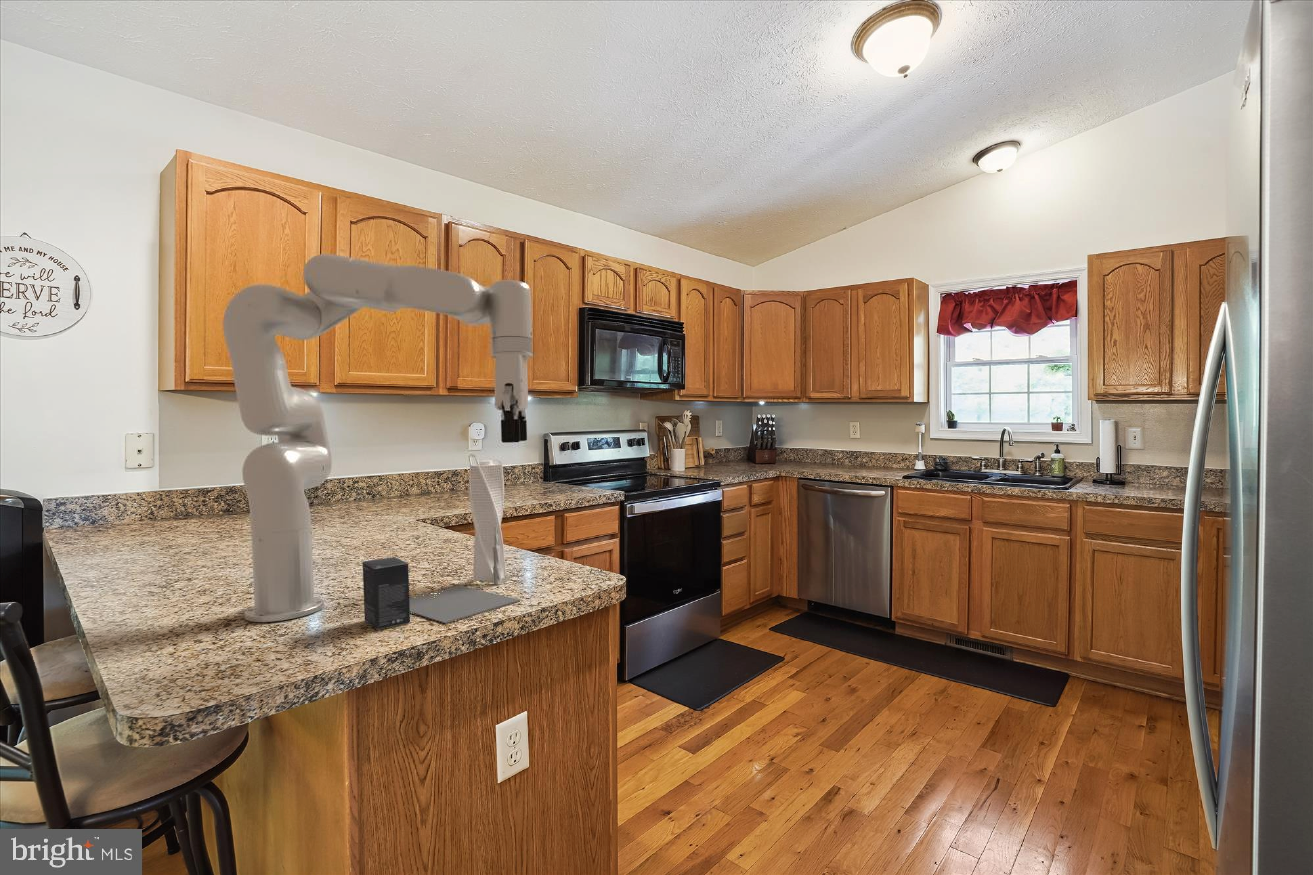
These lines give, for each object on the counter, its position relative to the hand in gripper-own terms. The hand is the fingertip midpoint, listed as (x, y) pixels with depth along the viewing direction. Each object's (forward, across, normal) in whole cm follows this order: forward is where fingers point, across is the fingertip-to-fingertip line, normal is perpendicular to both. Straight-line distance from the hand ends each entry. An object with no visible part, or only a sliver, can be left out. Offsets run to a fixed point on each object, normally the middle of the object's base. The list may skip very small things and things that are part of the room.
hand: (514, 441), depth 114 cm
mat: (+31, -3, -13) cm, 33 cm away
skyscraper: (+31, -20, -9) cm, 38 cm away
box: (+31, +6, -22) cm, 38 cm away
